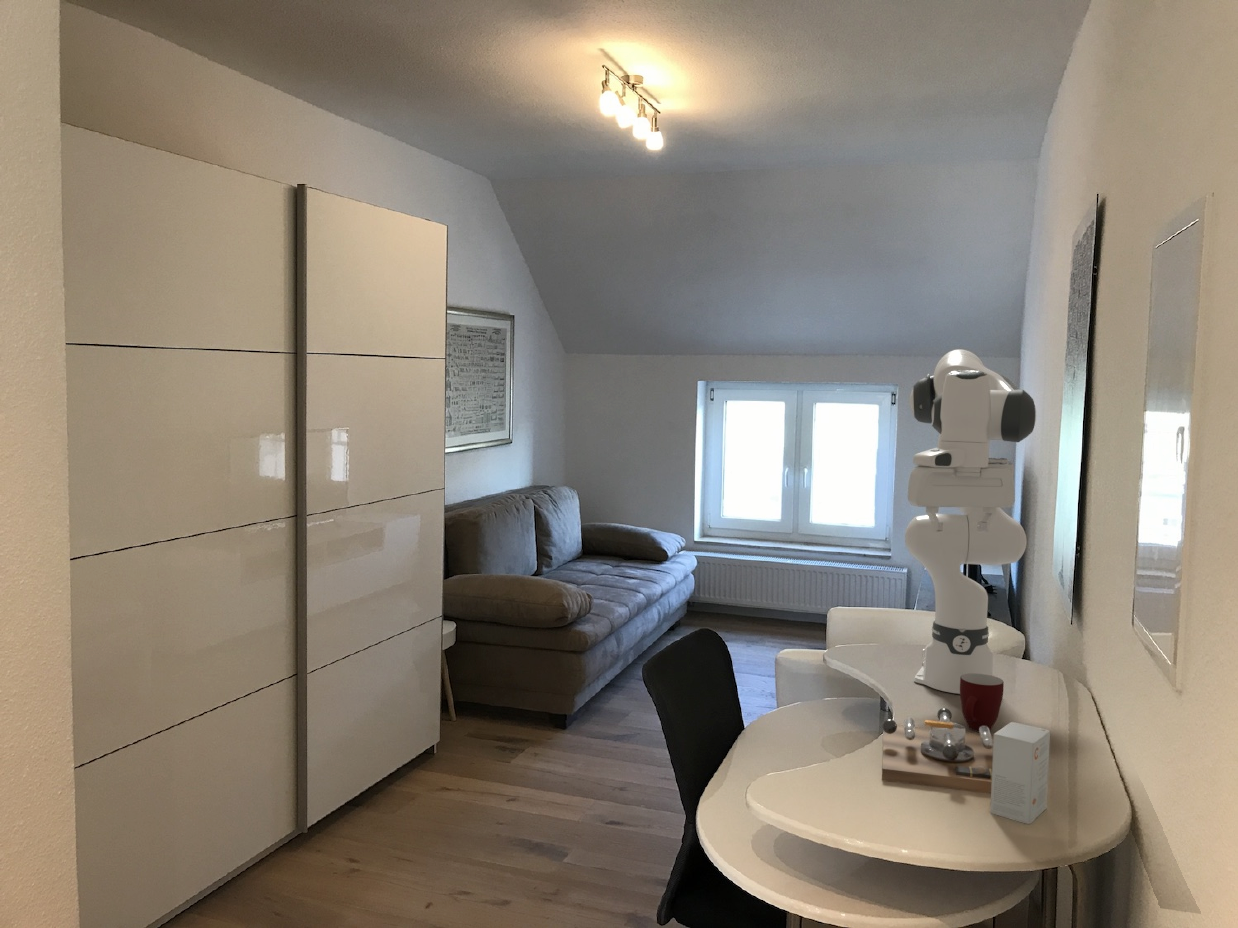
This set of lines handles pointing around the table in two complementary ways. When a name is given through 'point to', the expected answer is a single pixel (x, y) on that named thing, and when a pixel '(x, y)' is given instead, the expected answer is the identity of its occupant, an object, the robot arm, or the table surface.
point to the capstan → (943, 738)
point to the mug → (980, 699)
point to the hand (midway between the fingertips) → (960, 531)
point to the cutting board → (935, 763)
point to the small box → (1020, 772)
